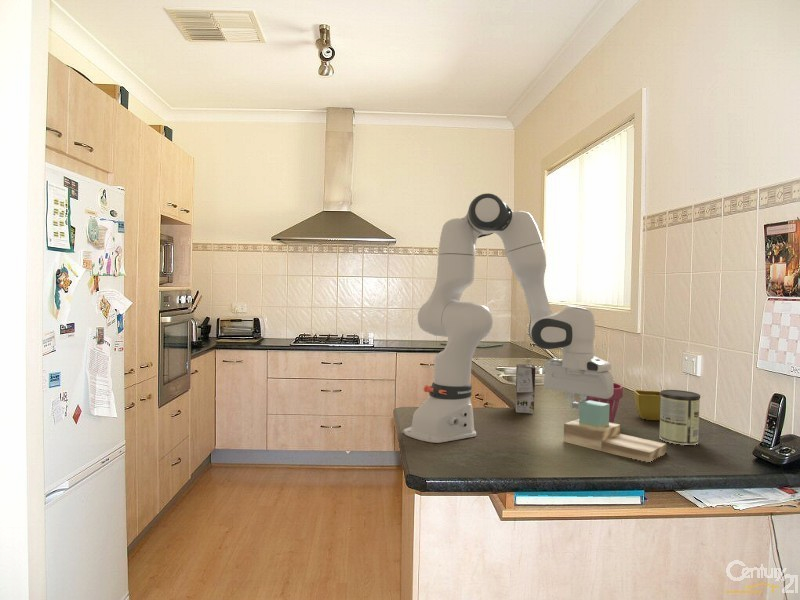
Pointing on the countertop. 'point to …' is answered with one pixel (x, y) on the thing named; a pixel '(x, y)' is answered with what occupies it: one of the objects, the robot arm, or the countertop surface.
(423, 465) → the countertop surface
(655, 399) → the flower pot
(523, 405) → the coffee box
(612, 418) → the plant pot
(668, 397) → the coffee can
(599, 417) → the teal cube
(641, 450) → the stair
